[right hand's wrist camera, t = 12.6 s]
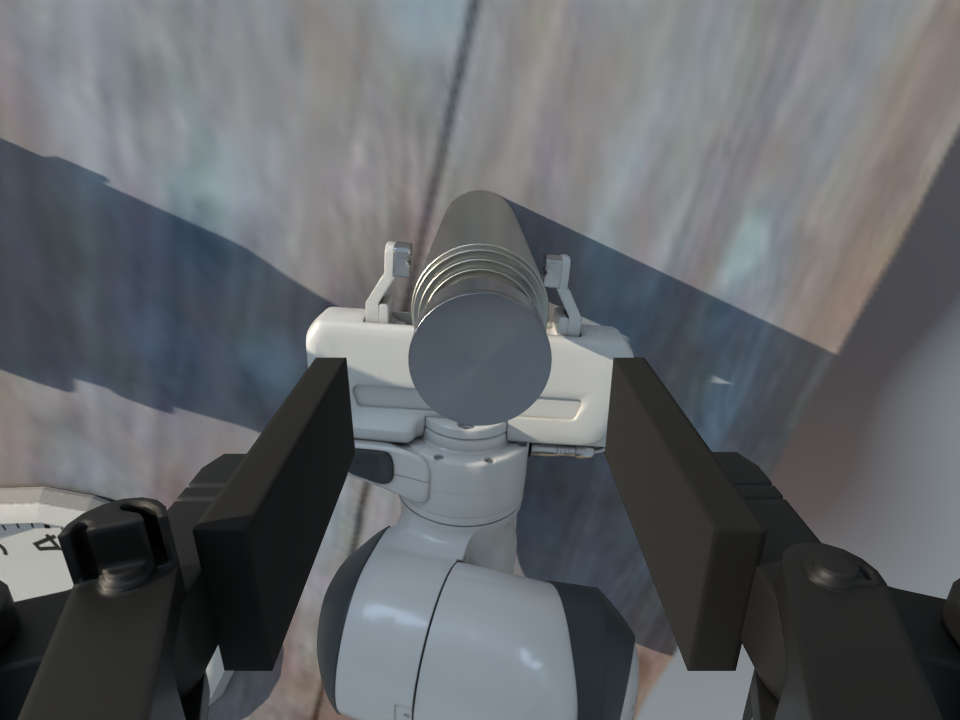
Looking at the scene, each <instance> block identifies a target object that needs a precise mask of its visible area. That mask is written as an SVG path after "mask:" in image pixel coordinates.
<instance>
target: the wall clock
mask: <svg viewBox="0 0 960 720" xmlns="http://www.w3.org/2000/svg"><path fill="white" fill-rule="evenodd" d="M106 503H110V501H108V500H105V499H103V498H100V497H97V496H95V495H89V494H84V493H78V492H73V491H67V490H62V489H56V488H51V487H18V488H0V580H1V581H2V582H4V583H5V584H7V585H8V587H9V590H10V592H11V595H12V597H13V600H14V602H16V601H21V600H25V599H30V598H34V597H39V596H44V595H48V594H53V593H57V592H62V591H66V590H69V589H72V587H73V582H72V579H71V576H70V573H69V570H68V567H67V564H66V561H65V558H64V555H63V552H62V549H61V546H60V543H59V540H58V537H57V536H58V535H59V534H60V532H61V531H62V530H63V529H64V528H65V526H66V525H67V524H68V523H70V522H71V521H73V520H74V519H76V518H77V517H79V516H80V515H81V514H83V513H85V512H87V511H89V510H91V509H94V508H96V507H98V506H100V505H103V504H106ZM206 673H207V677H208V682H209V688H210V699H209V706H210V705H211V704H212V703H214V702H215V701H216V700H217V699H218V698H219V697H220V696H221V695H222V694H223V692H224V690H225V688H226V687H227V685H228V683H229V681H230V679H231V677H232V675H233V673H234V671H224V667H223V662H222V658H221V654H220V649H219V645H218V646H217V648H216V650H215V652H214V654H213V656H212V658H211V660H210V662H209V664H208V666H207V668H206Z"/></svg>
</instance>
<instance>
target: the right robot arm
mask: <svg viewBox="0 0 960 720" xmlns="http://www.w3.org/2000/svg"><path fill="white" fill-rule="evenodd" d="M354 456H355V443H354V432H353V422H352V411H351V400H350V389H349V379H348V368H347V358H315V359H314V361H313V362H312V364H311V365H310V366H309V368H308V369H307V371H306V372H305V373H304V375H303V376H302V378H301V379H300V380H299V382H298V383H297V384H296V386H295V387H294V389H293V390H292V391H291V393H290V394H289V396H288V397H287V398H286V400H285V401H284V403H283V404H282V405H281V407H280V408H279V410H278V411H277V412H276V414H275V415H274V417H273V418H272V419H271V421H270V422H269V424H268V425H267V426H266V428H265V429H264V431H263V432H262V433H261V435H260V436H259V438H258V439H257V440H256V442H255V443H254V445H253V446H252V447H251V449H250V450H249V451H248V453H247V454H223V455H222V456H220V457H219V458H217V459H215V460H214V461H212V462H211V463H209V464H208V465H206V466H205V467H203V468H202V469H201V470H200V471H199V473H198V474H197V475H196V476H195V478H194V479H193V480H192V481H191V482H190V484H189V488H186V489H185V490H184V491H183V492H182V493H181V495H180V496H179V497H178V501H177V502H174V503H173V504H172V506H171V507H170V508H169V509H168V511H167V510H166V506H164V505H163V504H162V503H160V502H159V501H158V500H154V499H148V498H143V497H141V498H129V499H121V500H118V501H114V502H110V503H106V504H103V505H100V506H98V507H96V508H94V509H91V510H89V511H87V512H85V513H83V514H81V515H80V516H79V517H77V518H76V519H74V520H73V521H71V522H70V523H68V524H67V525H66V526H65V528H64V529H63V530H62V531H61V532H60V534H59V535H58V536H57V537H58V540H59V543H60V546H61V549H62V552H63V555H64V558H65V561H66V564H67V567H68V570H69V573H70V576H71V579H72V582H73V587H72V589H69V590H66V591H62V592H57V593H53V594H48V595H44V596H39V597H34V598H30V599H25V600H21V601H16V602H14V600H13V597H12V595H11V592H10V590H9V587H8V585H7V584H5V583H4V582H2V581H1V580H0V720H208V709H209V699H210V688H209V682H208V677H207V673H206V668H207V666H208V664H209V662H210V660H211V658H212V656H213V654H214V652H215V650H216V648H217V646H218V645H219V649H220V654H221V658H222V662H223V667H224V671H272V670H273V667H274V665H275V662H276V660H277V657H278V654H279V652H280V649H281V647H282V644H283V641H284V639H285V636H286V633H287V631H288V628H289V626H290V623H291V620H292V618H293V615H294V613H295V610H296V607H297V605H298V602H299V600H300V597H301V594H302V592H303V589H304V586H305V584H306V581H307V579H308V576H309V573H310V571H311V568H312V566H313V563H314V560H315V558H316V555H317V553H318V550H319V547H320V545H321V542H322V539H323V537H324V534H325V532H326V529H327V526H328V524H329V521H330V519H331V516H332V513H333V511H334V508H335V506H336V503H337V500H338V498H339V495H340V493H341V490H342V487H343V485H344V482H345V479H346V477H347V474H348V472H349V469H350V466H351V464H352V461H353V459H354ZM605 456H606V459H607V461H608V464H609V466H610V469H611V472H612V474H613V477H614V479H615V482H616V485H617V487H618V490H619V493H620V495H621V498H622V500H623V503H624V506H625V508H626V511H627V513H628V516H629V519H630V521H631V524H632V526H633V529H634V532H635V534H636V537H637V540H638V542H639V545H640V547H641V550H642V553H643V555H644V558H645V560H646V563H647V566H648V568H649V571H650V573H651V576H652V579H653V581H654V584H655V586H656V589H657V592H658V594H659V597H660V600H661V602H662V605H663V607H664V610H665V613H666V615H667V618H668V620H669V623H670V626H671V628H672V631H673V633H674V636H675V639H676V641H677V644H678V647H679V649H680V652H681V654H682V657H683V660H684V662H685V665H686V667H687V670H688V671H735V670H736V667H737V662H738V658H739V654H740V649H741V645H742V644H743V646H744V648H745V650H746V651H747V653H748V655H749V657H750V659H751V661H752V663H753V665H754V667H755V669H754V673H753V677H752V681H751V685H750V689H749V693H748V697H747V702H746V706H745V710H744V714H743V719H742V720H751V719H752V718H753V720H960V579H958V580H957V581H955V582H954V583H953V585H952V587H951V590H950V592H949V595H948V597H947V600H946V599H941V598H937V597H932V596H927V595H923V594H919V593H914V592H909V591H905V590H900V589H896V588H892V587H889V586H887V584H886V582H885V581H884V580H883V578H882V577H881V575H880V574H879V572H878V571H877V570H876V569H874V568H873V567H872V566H870V565H869V564H868V563H867V562H865V561H864V560H863V559H861V558H859V557H857V556H855V555H853V554H851V553H849V552H848V551H846V550H844V549H840V548H837V547H834V546H830V545H827V544H822V543H821V542H820V541H819V540H818V538H817V537H816V536H815V535H814V534H813V532H812V531H811V530H810V529H809V527H808V526H807V525H806V524H805V523H804V521H803V520H802V519H801V518H800V516H799V515H798V514H797V513H796V512H795V510H794V509H793V508H792V507H791V506H790V504H789V503H788V502H787V501H786V500H783V496H782V495H781V493H780V492H779V491H778V490H777V489H776V487H775V486H772V483H771V481H770V480H769V479H768V478H767V476H766V475H765V474H764V473H763V472H762V470H761V469H760V468H759V467H758V466H757V465H756V464H754V463H752V462H751V461H749V460H748V459H746V458H745V457H743V456H741V455H740V454H738V453H737V452H712V451H711V450H710V449H709V447H708V446H707V445H706V443H705V442H704V440H703V439H702V438H701V436H700V435H699V433H698V432H697V431H696V429H695V428H694V426H693V425H692V424H691V422H690V421H689V419H688V418H687V417H686V415H685V414H684V412H683V411H682V410H681V408H680V407H679V405H678V404H677V403H676V401H675V400H674V398H673V397H672V396H671V394H670V393H669V391H668V390H667V389H666V387H665V386H664V384H663V383H662V382H661V380H660V379H659V378H658V376H657V375H656V373H655V372H654V371H653V369H652V368H651V366H650V365H649V364H648V362H647V361H646V359H645V358H613V368H612V379H611V389H610V400H609V411H608V422H607V432H606V443H605Z"/></svg>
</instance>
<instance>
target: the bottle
mask: <svg viewBox="0 0 960 720" xmlns="http://www.w3.org/2000/svg"><path fill="white" fill-rule="evenodd" d="M474 278H487V279H493V280H498V281H501V282H504V283H507V284H509V285H511V286H513V287H515V288H516V289H518V290H519V291H521V292H522V293H523V294H524V295H526V296H527V297H528V298H529V299H530V301H531V302H532V303H533V304H534V306H535V307H536V308H537V310H538V312H539V314H540V316H541V318H542V321H543V324H544V327H545V330H546V327H547V323H548V317H549V301H548V295H547V291H546V288H545V285H544V283H543V280H542V278H541V276H540V273H539V271H538V268H537V266H536V263H535V261H534V258H533V256H532V254H531V251H530V249H529V246H528V244H527V241H526V239H525V237H524V234H523V232H522V229H521V227H520V224H519V222H518V220H517V217H516V215H515V213H514V211H513V209H512V207H511V206H510V205H509V203H508V202H507V201H506V200H504V199H503V198H502V197H500V196H499V195H497V194H495V193H492V192H489V191H480V190H479V191H472V192H468V193H465V194H463V195H461V196H460V197H458V198H457V199H455V200H454V201H453V202H452V203H451V205H450V206H449V207H448V209H447V211H446V213H445V215H444V217H443V220H442V222H441V225H440V227H439V229H438V232H437V234H436V237H435V239H434V242H433V244H432V247H431V249H430V251H429V254H428V256H427V259H426V261H425V264H424V266H423V268H422V271H421V273H420V276H419V278H418V281H417V283H416V286H415V288H414V292H413V295H412V302H411V317H412V323H413V327H414V330H415V327H416V324H417V321H418V318H419V316H420V314H421V312H422V310H423V309H424V307H425V305H426V304H427V303H428V302H429V301H430V299H431V298H432V297H433V296H434V295H436V294H437V293H438V292H439V291H441V290H442V289H444V288H445V287H447V286H449V285H451V284H453V283H456V282H459V281H462V280H467V279H474Z"/></svg>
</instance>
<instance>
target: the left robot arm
mask: <svg viewBox="0 0 960 720" xmlns="http://www.w3.org/2000/svg"><path fill="white" fill-rule="evenodd" d="M412 253H413V244H412V243H404V242H393V241H388V242H387V244H386V247H385V272H384V274H383V276H382V277H381V279H380V280H379V282H378V284H377V285H376V287H375V288H374V290H373V292H372V293H371V295H370V296H369V298H368V300H367V301H366V309H358V308H344V307H329V308H327V309H326V310H325V311H324V312H323V313H322V314H320V315H319V316H318V317H317V318H316V319H315V320H314V322H313V323H312V324H311V326H310V328H309V330H308V332H307V336H306V353H307V364H308V368H309V366H310V365H311V364H312V362H313V361H314V359H315V358H347V368H348V379H349V389H350V400H351V411H352V422H353V432H354V443H355V456H354V459H353V461H352V464H351V466H350V469H349V472H348V474H347V476H350V477H354V478H357V479H359V480H362V481H365V482H368V483H371V484H374V485H376V486H379V487H382V488H384V489H387V490H389V491H391V492H394V493H396V494H398V495H399V496H400V500H401V515H400V518H399V521H398V523H397V524H396V525H395V526H394V527H390V526H388V527H386V528H384V529H383V530H381V531H380V532H378V533H377V534H376V535H374V536H373V537H372V538H371V539H369V540H368V541H367V542H366V543H365V544H363V545H362V546H361V547H360V548H359V549H357V550H356V551H355V552H354V553H353V554H351V555H350V556H349V557H348V558H347V559H346V560H345V562H344V563H343V564H342V565H341V567H340V568H339V569H338V571H337V573H336V574H335V576H334V578H333V579H332V581H331V583H330V585H329V587H328V589H327V592H326V594H325V597H324V601H323V604H322V609H321V613H320V619H319V626H318V635H317V656H318V663H319V669H320V674H321V678H322V682H323V686H324V689H325V692H326V694H327V697H328V699H329V701H330V703H331V705H332V706H333V708H334V709H335V711H336V712H337V713H338V714H343V715H345V716H347V717H349V718H352V719H355V720H633V717H634V713H635V708H636V703H637V696H638V687H639V662H638V654H637V649H636V645H635V635H634V633H633V632H632V630H631V629H630V627H629V626H628V624H627V622H626V621H625V620H624V618H623V617H622V616H621V614H620V613H619V612H618V610H617V609H616V608H615V607H614V605H613V604H612V603H611V602H610V601H609V599H608V598H607V597H606V596H605V595H604V594H603V593H602V592H601V591H600V590H599V589H598V588H596V587H589V586H582V585H575V584H568V583H562V582H555V581H547V582H544V581H540V580H535V579H531V578H527V577H523V576H518V575H514V574H513V570H514V564H515V557H516V550H517V536H516V531H515V527H514V521H515V518H516V516H517V514H518V512H519V509H520V507H521V504H522V500H523V493H524V485H525V477H526V469H527V458H528V457H529V456H542V457H559V456H560V457H563V456H566V457H567V456H568V457H574V458H577V459H590V458H593V457H594V454H598V453H602V452H604V451H605V443H606V432H607V422H608V411H609V400H610V389H611V379H612V368H613V358H634V354H633V351H632V349H631V347H630V345H629V343H628V342H627V340H626V339H625V338H624V336H623V335H622V334H621V333H620V332H619V331H618V330H617V329H616V328H614V327H611V326H598V325H584V324H581V321H582V317H581V315H580V313H579V310H578V308H577V306H576V303H575V301H574V299H573V296H572V294H571V292H570V289H569V288H568V281H569V273H570V266H571V260H570V257H569V256H568V254H553V253H544V255H543V265H544V267H543V268H542V271H541V278H542V280H543V283H544V285H545V287H550V288H556V289H557V291H558V294H559V296H560V298H561V301H562V303H563V305H564V309H563V308H562V307H556V308H555V312H554V319H553V322H548V323H547V327H546V333H547V336H548V339H549V342H550V347H551V353H552V364H551V372H550V376H549V379H548V382H547V384H546V387H545V388H544V390H543V392H542V394H541V395H540V396H539V398H538V399H537V400H536V401H535V402H534V404H533V405H532V406H531V407H529V408H528V409H527V410H526V411H524V412H523V413H522V414H520V415H518V416H517V417H515V418H513V419H510V420H508V421H505V422H502V423H499V424H494V425H487V426H472V425H466V424H461V423H458V422H454V421H452V420H450V419H447V418H445V417H444V416H442V415H440V414H438V413H437V412H436V411H434V410H433V409H432V408H431V407H430V406H429V405H427V404H426V403H425V401H424V400H423V399H422V398H421V396H420V395H419V393H418V392H417V390H416V389H415V386H414V384H413V382H412V379H411V376H410V372H409V365H408V354H409V346H410V343H411V339H412V336H413V333H414V327H413V323H412V317H411V312H401V311H393V296H392V295H385V296H384V294H385V293H386V291H387V289H388V288H389V286H390V285H391V283H392V281H393V280H394V278H395V277H396V276H397V277H409V276H410V273H411V272H412V258H411V255H412ZM594 446H596V447H598V448H594Z"/></svg>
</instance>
